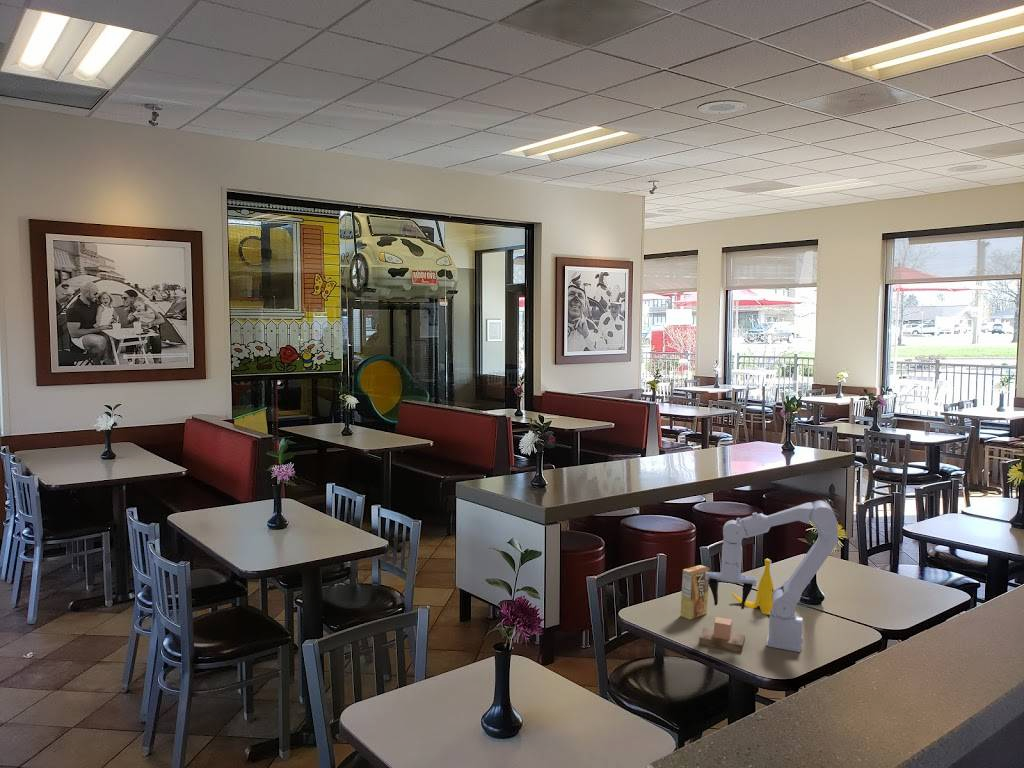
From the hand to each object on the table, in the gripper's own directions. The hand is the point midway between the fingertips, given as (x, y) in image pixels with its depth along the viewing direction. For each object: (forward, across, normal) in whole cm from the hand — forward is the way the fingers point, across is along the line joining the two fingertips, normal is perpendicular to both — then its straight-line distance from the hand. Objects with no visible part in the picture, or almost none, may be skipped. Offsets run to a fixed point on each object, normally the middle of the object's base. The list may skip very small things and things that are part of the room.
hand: (729, 605), depth 229 cm
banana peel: (+10, -7, -29) cm, 32 cm away
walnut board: (+9, +1, +6) cm, 11 cm away
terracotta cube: (+7, +1, +5) cm, 9 cm away
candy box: (+10, +12, -13) cm, 20 cm away
